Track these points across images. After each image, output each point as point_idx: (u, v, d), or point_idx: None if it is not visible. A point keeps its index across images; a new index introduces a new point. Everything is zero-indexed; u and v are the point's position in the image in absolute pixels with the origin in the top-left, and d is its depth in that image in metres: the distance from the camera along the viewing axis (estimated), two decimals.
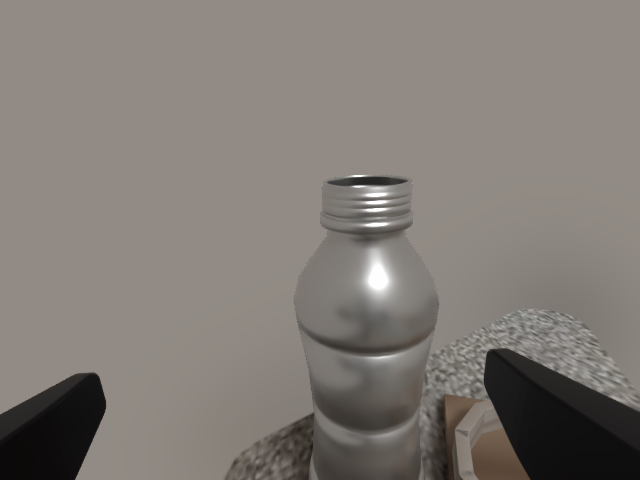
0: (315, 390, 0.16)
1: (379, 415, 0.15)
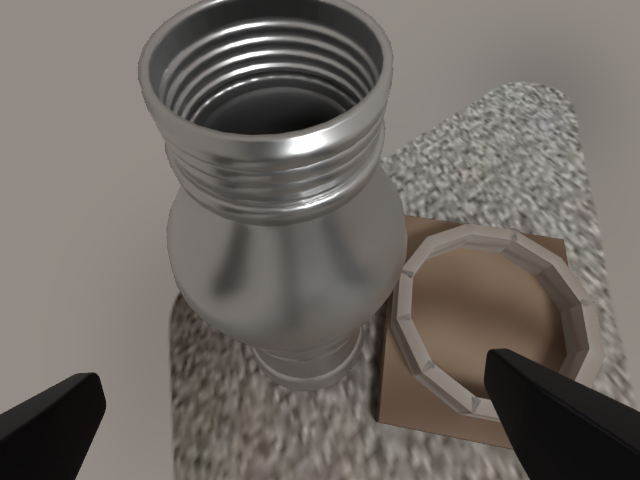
0: None
1: None
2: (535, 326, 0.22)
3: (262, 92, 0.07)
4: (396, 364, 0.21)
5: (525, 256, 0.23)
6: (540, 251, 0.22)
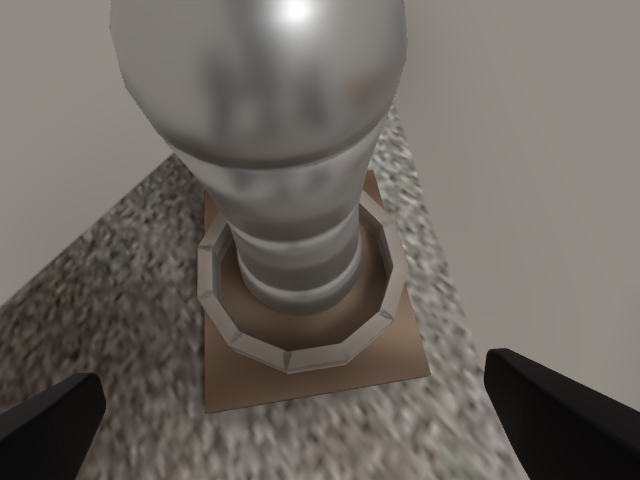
0: (210, 195, 0.11)
1: (299, 227, 0.11)
2: None
3: None
4: (218, 346, 0.19)
5: None
6: None
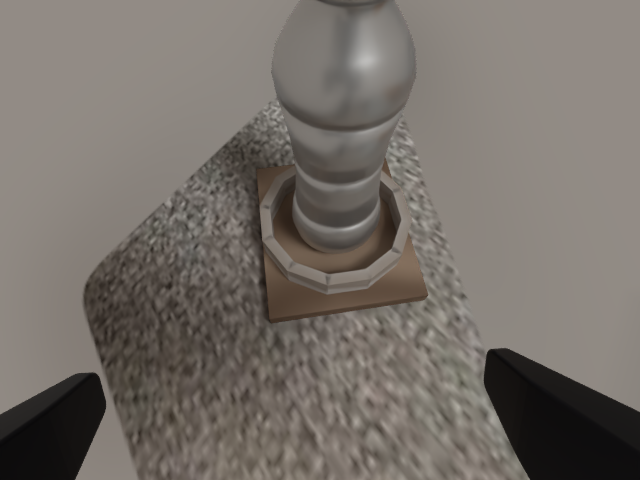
0: (297, 154, 0.19)
1: (350, 173, 0.18)
2: None
3: None
4: (275, 276, 0.27)
5: None
6: None
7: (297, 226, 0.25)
